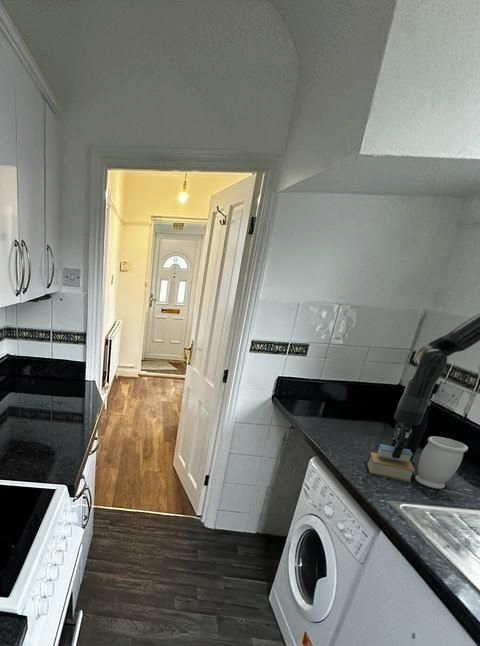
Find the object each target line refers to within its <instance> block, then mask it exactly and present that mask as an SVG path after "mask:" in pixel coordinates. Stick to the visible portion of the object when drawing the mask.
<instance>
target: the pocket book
mask: <svg viewBox="0 0 480 646" xmlns="http://www.w3.org/2000/svg"><path fill="white" fill-rule="evenodd" d="M394 449H395V447H394V446H391V445H388V444H384V443H379V445H378V448H377V450H376V451H377V452H376V453H378V455H379V457H382V458H387V459H392V460H397V461H402V462H407V463H410V458H411V456H413V454H412V452H411V450H410V449H403V451H402V454H401V456H400V458H399V459H398V458H393V457H392V454H393V452H394Z"/></svg>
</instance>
